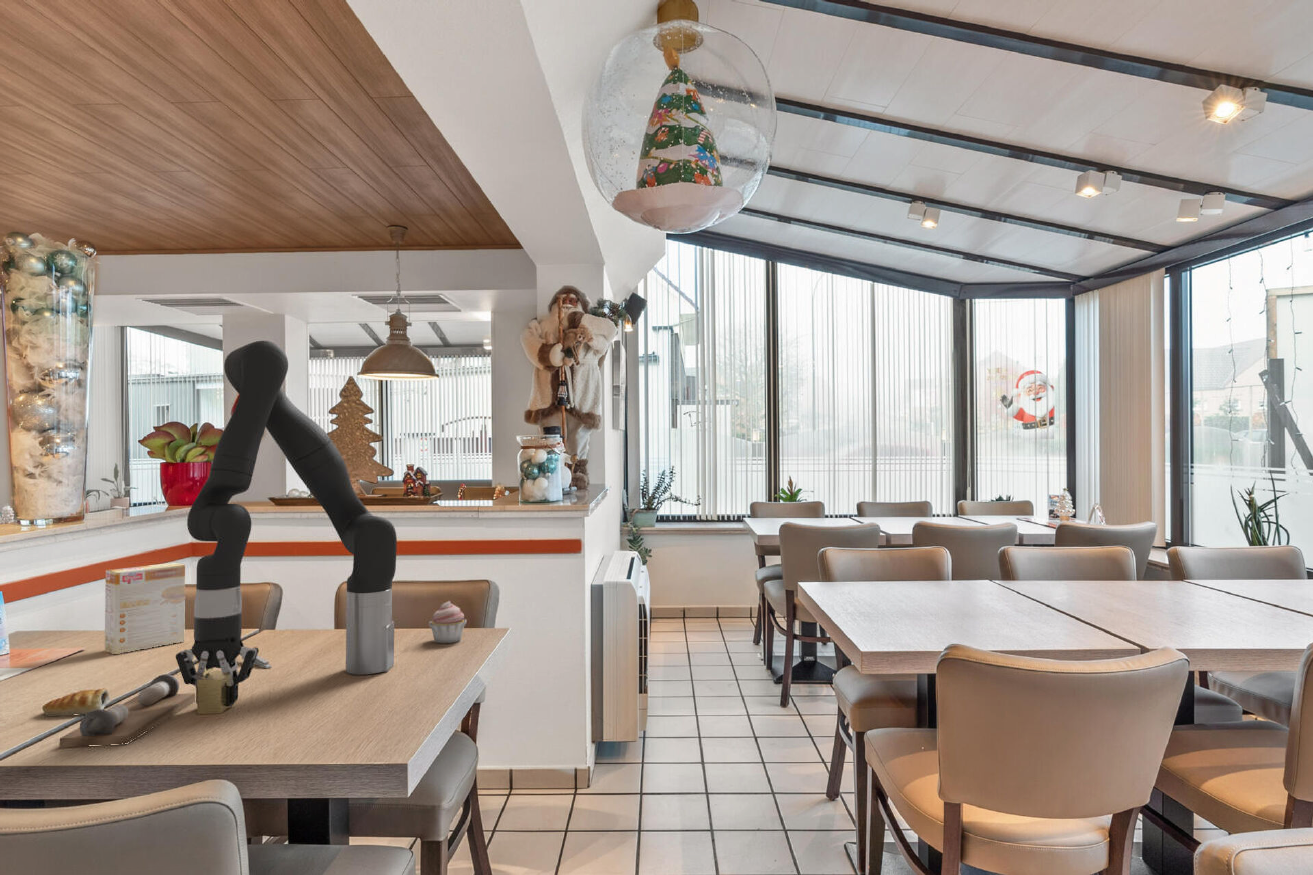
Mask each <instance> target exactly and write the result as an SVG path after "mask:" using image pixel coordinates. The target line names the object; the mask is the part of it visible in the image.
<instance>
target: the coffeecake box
mask: <svg viewBox="0 0 1313 875" xmlns="http://www.w3.org/2000/svg"><path fill="white" fill-rule="evenodd" d="M104 583H105V585H104V586H105V590H104V592H105V593H104V594H105V596H104V600H105V602H104V604H105V605H104V651H105V650H106V651H108V652H107V653H109V652H110V654H111V653H112V655H113V654H118V655H121V653H122V654H125V653H124V652H128V653H132V652H131V651H133V652H136V651H135V650H138V651H141V650H140V649H144V650H147V649H148V648H149V649H153V648H152V647H154V648H158V646H160V647H163V646H162V645H165V646H169V644H170V645H173V643H176V644H180V642H181V643H184V642H185V635H186V634H185V628H186V626H185V625H186V624H185V623H186V622H185V618H186V617H185V616H186V615H185V614H186V613H185V607H186V604H185V603H186V602H185V601H186V598H185V597H186V590H185V589H186V564H183V563H179V562H168V563H160V564H151V565H141V566H134V567H133V566H132V567H124V568H116V569H115V568H114V569H106V570H105V582H104ZM149 649H148V650H149ZM106 651H105V652H106Z"/></svg>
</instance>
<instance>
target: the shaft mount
mask: <svg viewBox="0 0 1313 875" xmlns="http://www.w3.org/2000/svg"><path fill="white" fill-rule="evenodd" d="M179 690H180V683H179V681H178V679H177V678H176V677H175V676H173V675H171V674H167V673H164V674H161V675H158V676H156V677H155V678H154V679H152V680H151V682H150V684H149V686H148V687H146V688H144V689H142V690H141V691H140V692H138V695H136V696H134V697H133V698H131V699H129V700H127V701H126V702H124V703H121V704H120V703H118V704H115V705H113V706H111V707H110V708H107V709H103V710H102V709H99V710H94V711H92V712H90V713H88V714H85V715H84V716H83V717H82V718H81V719H80V722H79V727H78V728H76V729H74V730H73V731H70V732H68V733H67V734H65V735H63V736H62V737H60V738H59V749H65V747H67V749H68V747H69V748H81V747H80V746H89V745H111V744H122V743H123V744H125V743H128V742H130V741H131V740H133V739H135V738H137V737H138V736H140V735H141V734H143V733H144V732H146V731H148V730H149V729H151V728H152V727H154V728H155V726H156V725H157V726H159V725H160V724H162V723H164V722H165V721H167V720H168V719H169V717H170V718H171V717H173V716H174V715H176V714H178V713H179V712H181V711H182V710H184V709H185V708H187V707H188V706H190V705H192V704H193V703H194V702H196V692H192V693H191V692H190V693H188V692H187V693H178V692H179ZM186 706H187V707H186ZM183 708H184V709H183ZM180 710H181V711H180ZM166 719H167V720H166ZM159 723H160V724H159ZM158 724H159V725H158ZM157 726H156V727H157ZM151 730H152V729H151ZM149 731H150V730H149ZM149 731H148V732H149ZM146 733H147V732H146ZM143 735H144V734H143ZM140 737H141V736H140ZM137 739H138V738H137Z"/></svg>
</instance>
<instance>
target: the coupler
mask: <svg viewBox="0 0 1313 875" xmlns="http://www.w3.org/2000/svg"><path fill="white" fill-rule="evenodd" d="M227 686H228V685H227V683H226V677H225V676H224V675H223V674H222V670H212V671H211V673H210V674H208V675H206V676H205V677H203V678H201V679H199V680H198V690H197V703H196V705H197V706H196V710H197V712H196V715H209V714H210V715H211V714H213V715H214V714H222V713H223V712H224V710H225V711H226V710H228V709H229V708H231V706H226V687H227ZM235 703H237V701H235ZM235 703H234V704H235ZM221 712H222V713H221Z"/></svg>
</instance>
